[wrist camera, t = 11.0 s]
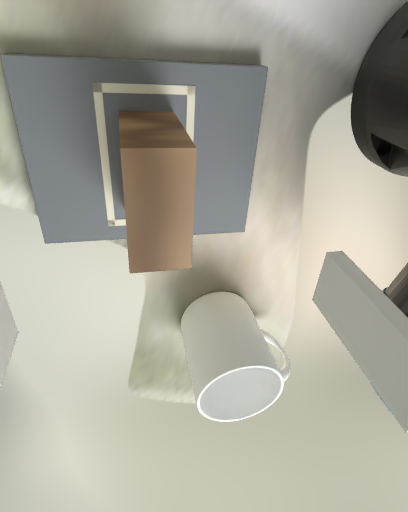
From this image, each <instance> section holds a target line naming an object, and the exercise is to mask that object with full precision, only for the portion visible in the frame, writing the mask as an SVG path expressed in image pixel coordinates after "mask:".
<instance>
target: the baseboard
mask: <svg viewBox="0 0 408 512" xmlns="http://www.w3.org/2000/svg"><path fill="white" fill-rule="evenodd" d="M0 58H1V62H2V66H3V70H4V75H5V79H6V83H7V87H8V91H9V95H10V100H11V104H12V108H13V112H14V116H15V121H16V125H17V129H18V133H19V137H20V141H21V146H22V150H23V154H24V158H25V162H26V166H27V171H28V175H29V179H30V183H31V187H32V192H33V196H34V200H35V204H36V208H37V212H38V217H39V221H40V225H41V229H42V233H43V237H44V242H45V244H46V243H63V242H79V241H97V240H114V239H127V231H126V218H125V205H124V192H123V179H122V166H121V153H120V133H119V110H125V111H174V113H175V115H176V116H177V118H178V119H179V121H180V122H181V124H182V125H183V127H184V129H185V130H186V132H187V133H188V135H189V136H190V138H191V140H192V141H193V143H194V144H195V146H196V147H197V155H196V176H195V197H194V217H193V235H198V234H215V233H232V232H245V225H246V218H247V211H248V204H249V197H250V190H251V183H252V176H253V169H254V162H255V155H256V148H257V141H258V134H259V127H260V120H261V113H262V106H263V99H264V92H265V85H266V78H267V71H268V67H266V66H263V65H250V64H229V63H208V62H186V61H165V60H144V59H123V58H102V57H80V56H59V55H38V54H17V53H4V54H1V55H0Z"/></svg>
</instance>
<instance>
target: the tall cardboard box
mask: <svg viewBox="0 0 408 512" xmlns="http://www.w3.org/2000/svg"><path fill="white" fill-rule="evenodd" d="M119 133H120V153H121V166H122V179H123V192H124V205H125V218H126V231H127V244H128V257H129V269H130V273H139V272H153V271H165V270H178V269H191V259H192V238H193V217H194V197H195V176H196V155H197V147H196V146H195V144H194V143H193V141H192V140H191V138H190V136H189V135H188V133H187V132H186V130H185V129H184V127H183V125H182V124H181V122H180V121H179V119H178V118H177V116H176V115H175V113H174V111H125V110H119Z"/></svg>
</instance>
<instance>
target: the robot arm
mask: <svg viewBox="0 0 408 512" xmlns="http://www.w3.org/2000/svg"><path fill="white" fill-rule="evenodd" d="M351 125H352V131H353V135H354V137H355V140H356V143H357V145H358V147H359V149H360V150H361V152H362V153H363V154H364V155H365V156H366V157H367V158H368V159H369V160H370V161H372V162H373V163H375V164H376V165H378V166H380V167H382V168H384V169H385V170H387V171H389V172H392V173H394V174H398V175H401V176H408V2H407V3H406V4H405V5H404V6H403V7H402V8H400V9H399V10H398V11H397V12H396V14H395V15H394V16H393V17H392V18H391V19H390V20H389V21H388V23H387V24H386V25H385V26H384V28H383V29H382V30H381V32H380V33H379V35H378V36H377V37H376V39H375V41H374V42H373V44H372V46H371V47H370V49H369V51H368V53H367V55H366V57H365V59H364V61H363V63H362V66H361V68H360V71H359V73H358V76H357V79H356V83H355V87H354V91H353V96H352V103H351ZM312 300H313V301H314V303H315V304H316V305H317V307H318V308H319V310H320V311H321V313H322V314H323V315H324V317H325V318H326V320H327V321H328V323H329V324H330V326H331V327H332V328H333V330H334V331H335V333H336V334H337V335H338V337H339V338H340V340H341V341H342V343H343V344H344V345H345V347H346V348H347V350H348V351H349V352H350V354H351V355H352V357H353V358H354V360H355V361H356V362H357V364H358V365H359V367H360V368H361V370H362V371H363V372H364V374H365V375H366V377H367V378H368V380H369V381H370V383H371V385H372V387H373V388H374V390H375V391H376V393H377V394H378V396H379V397H380V399H381V400H382V402H383V403H384V404H385V405H386V407H387V408H388V409H389V411H390V412H391V413H392V414H393V415H394V417H395V418H396V419H397V421H398V422H399V423H400V425H401V426H402V428H403V429H404V431H405V432H406V433H407V432H408V263H407V264H406V266H405V267H404V268H403V269H402V271H401V272H400V273H399V275H398V276H397V277H396V278H395V279H394V281H393V282H392V283H391V284H390V286H389V287H388V288H385V289H384V290H383V291H381V290H380V289H379V288H378V287H377V286H376V285H375V284H374V283H373V282H372V281H371V280H370V279H369V278H368V277H367V276H366V275H365V274H364V273H363V272H362V271H361V270H360V269H359V268H358V267H357V266H356V265H355V263H354V262H353V261H352V260H351V259H350V258H349V257H347V255H346V254H345V253H344V252H343V251H337V252H327V253H326V256H325V260H324V263H323V267H322V269H321V273H320V276H319V279H318V283H317V286H316V289H315V292H314V296H313V299H312ZM17 335H18V330H17V327H16V324H15V321H14V318H13V316H12V313H11V310H10V307H9V305H8V302H7V299H6V296H5V294H4V291H3V288H2V285H1V282H0V390H1V387H2V383H3V380H4V377H5V374H6V370H7V367H8V364H9V361H10V358H11V354H12V351H13V347H14V345H15V341H16V338H17Z"/></svg>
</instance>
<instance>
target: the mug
mask: <svg viewBox="0 0 408 512" xmlns="http://www.w3.org/2000/svg"><path fill="white" fill-rule="evenodd" d="M181 333H182V338H183V343H184V348H185V352H186V357H187V362H188V367H189V371H190V376H191V381H192V385H193V390H194V395H195V399H196V404H197V408H198V410H199V412H200V413H201V414H202V415H203V416H204V417H206V418H208V419H211V420H214V421H223V422H226V421H236V420H241V419H244V418H247V417H251V416H253V415H255V414H257V413H259V412H261V411H263V410H265V409H266V408H267V407H269V406H270V405H271V404H272V403H274V402H275V401H276V400H277V398H278V397H279V396H280V394H281V392H282V390H283V387H284V381H285V380H286V379H287V378H288V376H289V374H290V369H291V368H290V362H289V359H288V357H287V355H286V353H285V351H284V350H283V348H282V347H281V345H280V344H279V343H278V342H277V340H276V339H275V338H274V337H273V336H271V335H270V334H269V333H267V332H266V331H264V330H262V329H260V327H259V325H258V323H257V321H256V319H255V317H254V315H253V312H252V310H251V308H250V307H249V305H248V304H247V302H246V301H245V300H244V299H243V298H242V297H240V296H238V295H236V294H234V293H231V292H213V293H209V294H206V295H204V296H201V297H199V298H198V299H196V300H195V301H193V302H192V303H191V304H190V305H189V306H188V307H187V309H186V310H185V312H184V314H183V316H182V319H181ZM267 342H269V343H271V344H273V345H274V346H276V347H277V348H278V349H279V350H280V352H281V353H282V355H283V357H284V366H283V367H282V368H281V369H279V368H278V366H277V364H276V361H275V359H274V357H273V355H272V353H271V351H270V349H269V347H268V344H267Z"/></svg>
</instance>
